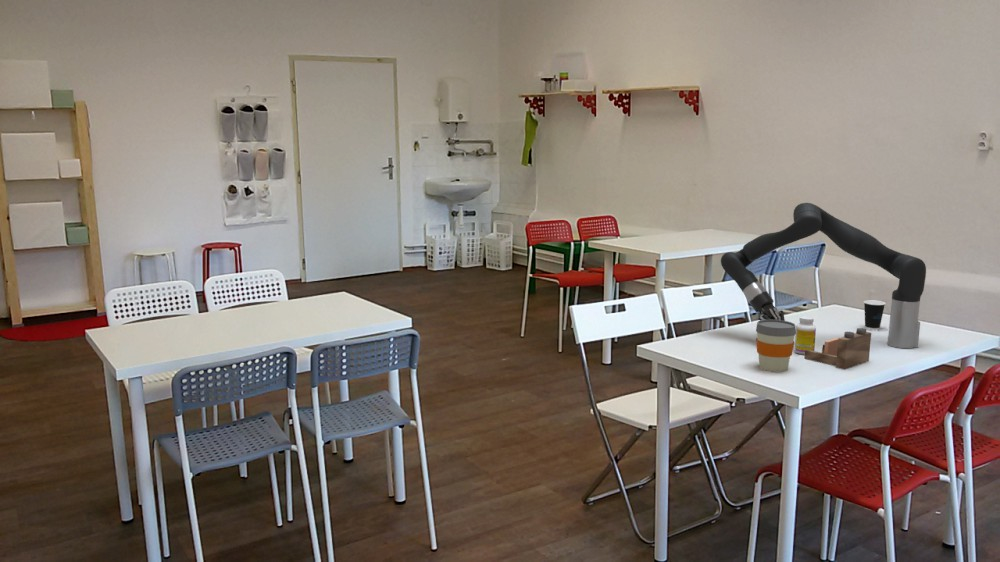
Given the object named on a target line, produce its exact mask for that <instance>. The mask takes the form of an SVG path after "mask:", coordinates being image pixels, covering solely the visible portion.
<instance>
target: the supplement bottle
mask: <svg viewBox="0 0 1000 562" xmlns="http://www.w3.org/2000/svg"><path fill="white" fill-rule="evenodd" d="M814 320H815V319H814V317H812V316H803V315H802V316H799V323H797V324H796V334H795V336H794V347H793V351H794V353H796V354H798V355H804V356H805V350H807V349H808V350H812V351H815V345H816V331H817V330H816V329H817V327H816V326H815V325H814V322H815V321H814Z"/></svg>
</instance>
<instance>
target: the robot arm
mask: <svg viewBox="0 0 1000 562" xmlns="http://www.w3.org/2000/svg"><path fill="white" fill-rule="evenodd" d="M792 216H793V223H791V225H789V226H788V227H786V228H784V229H782V230H780V231H775V232H769V233H765V234H761V235H759V236H757V237H756V238H753V239H752V240H750V241H748V242H747V243H745V244H744V245H743V248H742V249H740V250H738V251H737V252H733V251H727V252H726V253H724V254H723V255H722V256H721V258H720V265H721V267H722V269H723V271H725V273H726V274H727V275H728V276H729V277H730V278H731V279H732V280H733V281H734V282H735V283H736V284H737V286H738V287H739V289H740V290H741V291H742V294H743V295H744V297H745V298H746V300H747V301H748V303H749V304H750V306H751V307H752V309H753V310H754V311H755V313H759V315H760V317H759V318H758V321H761V320H782V321H786V319H785V315H784V314H785V313H784V311H783V310H778V309H777V307H776V306H774V304H773V303H774V299H773V298H772V296H771V295H770V294H769V291H767V289H766V288H765V287H764V285H763V284H762V283H761V281H759V279H758V278H757V276H756V275H755V273H753V272H752V271H751V270H749V269H747V267H749V266H750V265H751V264H752V263H753V262H755V261H757V260H758V259H760V258H762V257H764V256H765V255H767V254H769V253H771V252H774V251H775V250H778V249H779V248H782V247H785V246H786V245H790V244H793V243H795V242H797V241H800V240H803V239H806V238H808V237H811V236H812V235H815V234H816V233H818V232H821V233H823V234H824V235H825V236H826V237H827V238H828V239H830V241H832V242H833V243H834V244H835V245H836V246H837V247H838V248H839V249H841V250H842V251H843V252H845V253H847V254H848V255H851V256H853V257H855V258H857V259H860V260H861V261H864V262H867V263H871V264H874V265H876V266H877V267H880V268H881V269H883V270H885V271H886V272H887V273H888V274H890V275H892V276H894V277H895V278H896V279H898V280H899V281H898V285H897V286H898V287H897V288H896V289H894V290H893V291H892V293H891V303H890V304H891V305H890V313H889V315H890V316H889V325H888V335H887V345H889V346H890V347H894V348H900V349H914V348H918V347H919V339H920V332H921V331H920V330H921V329H920V328H921V322H920V321H919V314H920V304H921V298H922V295H923V294H924V293H923V292H924V290H925V283H926V277H927V266H926V263H925V261H923V259H921V258H918V257H915V256H912V255H909V254H907V253H902V252H900V251H896V250H894V249H892V248H889V247H888V246H886V245H884V244H883V243H882V242H881V241H879V240H878V239H877V238H876V237H874V236H873V235H871V234H869V233H868V232H865V231H863V230H861V229H859V228H857V227H854V226H852V225H851V224H849V223H847V222H845V221H843V220H842V219H839V218H836V217H835V216H834V215H832V214H831V213H828V212H827V211H826V210H824V209H823V208H821V207H820V206H818V205H816V204H814V203H811V202H801V203H798V204H797V205H796V206H795V207H794V209H793V215H792ZM913 347H914V348H913Z"/></svg>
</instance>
